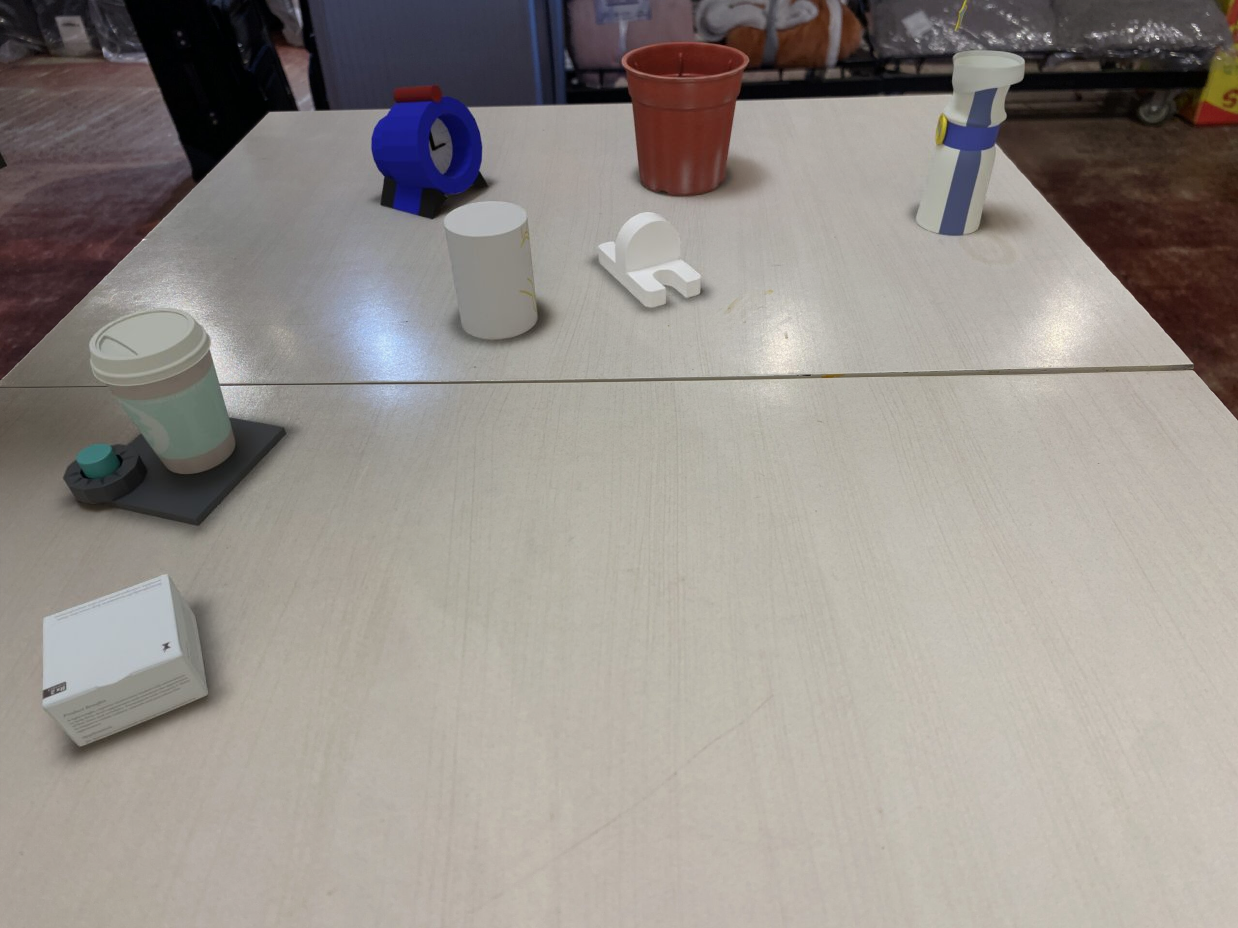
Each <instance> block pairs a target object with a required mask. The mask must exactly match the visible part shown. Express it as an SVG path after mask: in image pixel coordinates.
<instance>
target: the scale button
mask: <svg viewBox="0 0 1238 928" xmlns="http://www.w3.org/2000/svg"><path fill="white" fill-rule="evenodd" d="M110 445H111V444H109V443H103V442H101V443H94V444H91V445H88V446H86V447H85V448H83V449H81V450H80V451H79V452H78V453H77V455H76V459H75V460H77V462H78V464H79V465H80V467H81V469H82V470H83V472H84V473H85V475H86V476H87V477H88V478H90V479H97V478H103V477H105V476H107V475H109V474H112V473H114V472H115V471H116V470H117V469H118V468H119V467H120V461H119V460H118V458H117V456H116V454H115V453H114V451H113V449H112V447H111V446H110Z"/></svg>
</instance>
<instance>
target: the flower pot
mask: <svg viewBox="0 0 1238 928" xmlns="http://www.w3.org/2000/svg"><path fill="white" fill-rule="evenodd" d="M749 63H750V58H749V56H748V55H747V54H746V53H745V52H743V51H742V50H739V49H738V48H735V47H732V46H727V45H722V44H718V43H712V42H711V43H709V42H701V41H672V42H663V43H662V42H661V43H656V44H655V43H654V44H649V45H645V46H641V47H638V48H635V49H632V50H630V51H629V52H627V53H625V54H624V55H623V56H622V58H621V66H622V67H623V68H622V69H624V70H625V73H626V81H627V90H628V94H629V96H630V98H631V107H632V114H633V125H634V126H633V127H634V133H635V135H634V136H635V145H636V156H637V164H638V165H637V166H638V172H639V173H638V174H639V175H638V176H639V181H640V183H641V184H642V185H643V186H644V187H646V188H647V189H649V190H651V191H653V192H655V193H659V192H660V191H664V192H666V193H668V195H670V196H686V197H688V196H696V195H702V194H704V193H708V192H712V191H714V190H716V189H717V187H718V186H719V184H723V183H724V181H725V176H726V170H727V165H728V164H727V163H728V157H729V151H730V145H731V137H732V131H733V124H734V118H735V111H736V105H737V99H738V96H739V95H740V93H741V88H742V82H743V76H744V75H743V74H744V70H745V69H746V68H747V67H748V65H749Z"/></svg>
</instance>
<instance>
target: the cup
mask: <svg viewBox="0 0 1238 928" xmlns="http://www.w3.org/2000/svg"><path fill="white" fill-rule="evenodd" d="M443 226H444V232H445V233H444V234H445V238H446V244H447V250H448V256H449V260H450V261H449V262H450V266H451V272H452V278H453V284H454V288H455V295H456V300H457V301H456V302H457V307H458V311H459V317H460V318H459V319H460V323H461V327H462V329H463V330H464V331H465V332H466V333H467V334H468V335H470V336H473V337H475V338H479V339H483V340H506V339H510V338H514V337H518V336H520V335H522V334H525V333H527V331H530V330H531V329H532V328H533V327H534V326H535V325H536V324H537V321H538V319H539V318H538V317H539V316H538V315H539V314H538V306H537V305H538V304H537V297H536V287H535V286H536V285H535V276H534V268H533V267H534V266H533V259H532V249H531V238H530V229H529V219H528V213H527V211H526V209H525V208H523V207H522V206H520V205H518V204H516V203H513V202H508V201H501V200H485V201H483V200H482V201H477V202H472V203H467V204H464V205H460V206H459V207H457V208H454V209H453V210H451V211H450V212H448V213H447V214H446V215H445V216H444V218H443Z"/></svg>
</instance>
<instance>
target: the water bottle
mask: <svg viewBox="0 0 1238 928" xmlns="http://www.w3.org/2000/svg"><path fill="white" fill-rule="evenodd" d="M967 2H968V0H964V1H963V4H962V7H961V9H960V10H959V11H958V19H957V22H956V25H955V28H954V32H957V30H958V28H961V26H962V23H963V18H964V15H965V13H966V11H967V10H968V9H967V8H968V5H967ZM952 65H953V71H952V79H951V83H952V89H953V92H952V96H951V97H950V100H949V103H948V104H947V105H946V106H945V107H944V109H943V110H942V113H941V114H940V115H939V117H938V120H937V125H936V130H935V144H936V145H935V147H934V149H933V153H932V156H931V160H930V164H929V169H928V172H927V175H926V176H927V177H926V180H925V185H924V188H923V192H922V196H921V199H920V203H919V205H918V210H917V213H916V216H915V222H916V223H917V225H918V226H920V227H921V228H922V229H924V230H926V231H929V232H931V233H934V234H940V235H945V236H964V235H968V234H972V233H974V232H976V231H977V230H978V229H979V228H980V224H981V220H982V214H983V209H984V205H985V200H986V196H987V192H988V188H989V184H990V181H991V177H992V173H993V169H994V166H995V162H996V156H997V148H996V142H997V138H998V135H999V131H1000V127H1001V124H1002V123H1003V122H1004V121H1006V119H1007V117H1008V116H1007V112H1006V109H1005V101H1006V97H1007V95H1008V91H1009V90H1010V87H1011V85H1015V84H1018V83H1020V82H1022V81H1023V79H1024V77H1025V69H1026V68H1025V66H1026V61H1025V59H1024V58H1023V57H1022V56H1020V55H1018V54H1016V53H1012V52H1009V51H1008V52H1007V51H1002V50H983V49H979V50H977V49H975V50H965V51H960V52H957V53H955V54H954V55H952Z"/></svg>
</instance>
